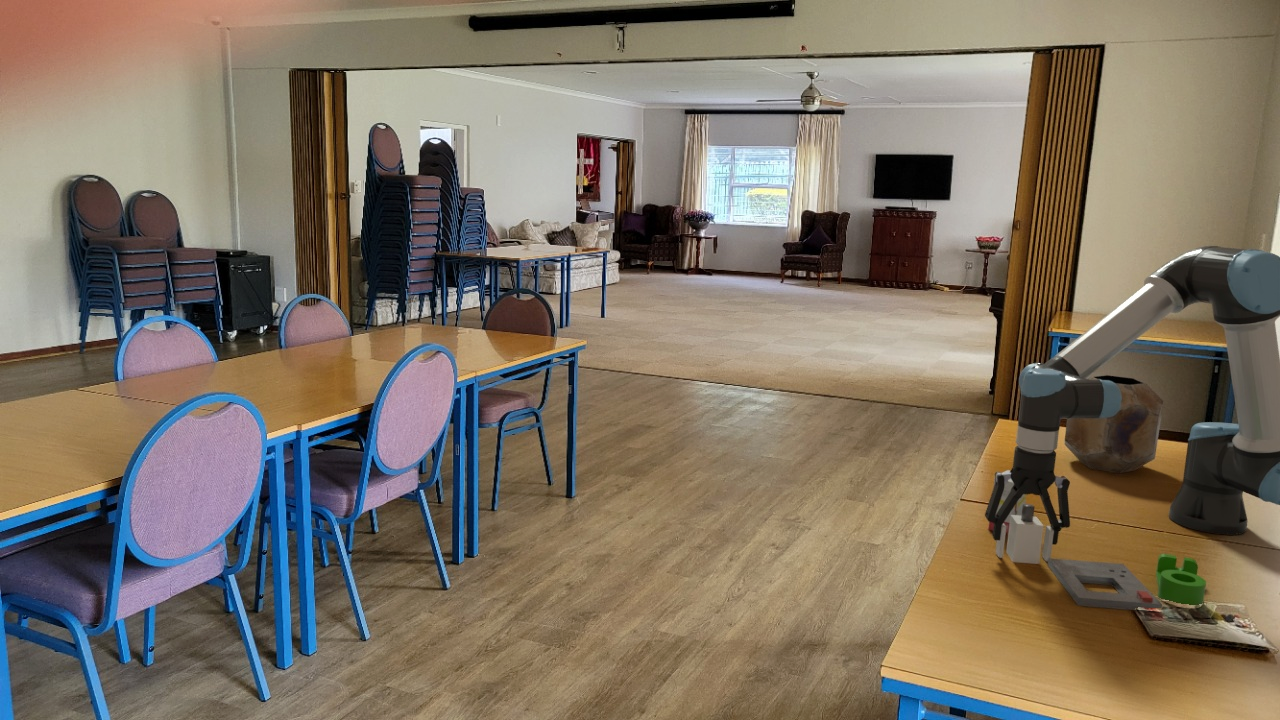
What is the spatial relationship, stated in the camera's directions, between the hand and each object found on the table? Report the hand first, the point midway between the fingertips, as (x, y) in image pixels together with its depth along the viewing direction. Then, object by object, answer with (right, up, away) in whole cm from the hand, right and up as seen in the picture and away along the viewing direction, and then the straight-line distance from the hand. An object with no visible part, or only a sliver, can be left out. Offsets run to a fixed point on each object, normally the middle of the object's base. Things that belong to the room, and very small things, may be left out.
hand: (1022, 556), depth 188 cm
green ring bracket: (+23, -4, -13) cm, 27 cm away
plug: (0, 0, 0) cm, 0 cm away
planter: (+49, +11, +66) cm, 83 cm away
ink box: (+3, +3, +17) cm, 17 cm away
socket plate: (+9, -3, -13) cm, 16 cm away
